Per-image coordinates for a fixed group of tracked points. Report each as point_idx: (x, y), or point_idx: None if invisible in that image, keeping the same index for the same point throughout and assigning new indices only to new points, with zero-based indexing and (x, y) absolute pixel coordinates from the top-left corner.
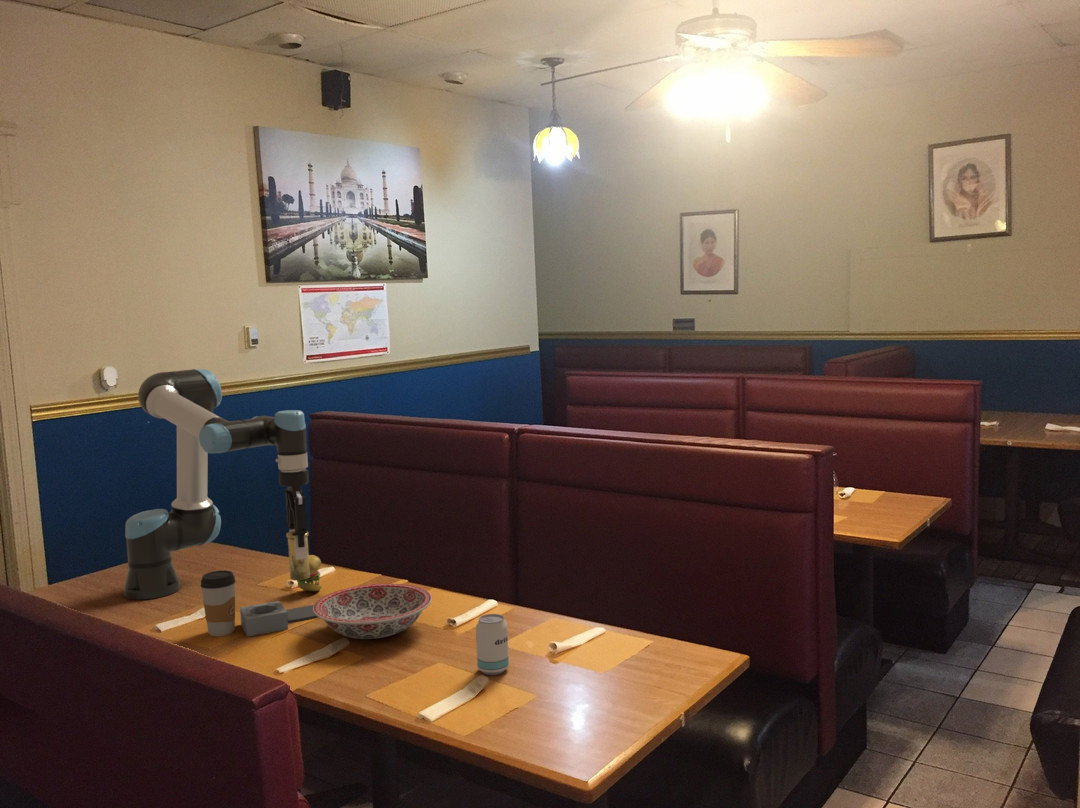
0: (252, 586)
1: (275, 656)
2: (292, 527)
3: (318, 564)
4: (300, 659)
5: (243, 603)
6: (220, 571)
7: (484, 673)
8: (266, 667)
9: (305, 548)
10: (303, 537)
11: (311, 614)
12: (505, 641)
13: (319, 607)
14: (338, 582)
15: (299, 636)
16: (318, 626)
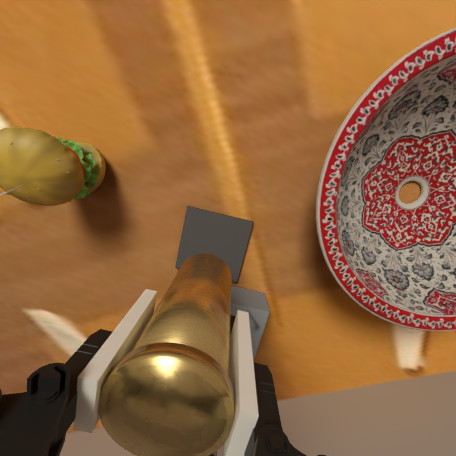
0: None
1: (357, 351)
2: (64, 428)
3: (60, 149)
4: (400, 333)
5: (78, 291)
6: None
7: None
8: (383, 374)
9: (250, 344)
10: (278, 420)
11: (237, 238)
12: None
13: (390, 307)
14: (56, 80)
15: (312, 294)
16: (294, 251)
